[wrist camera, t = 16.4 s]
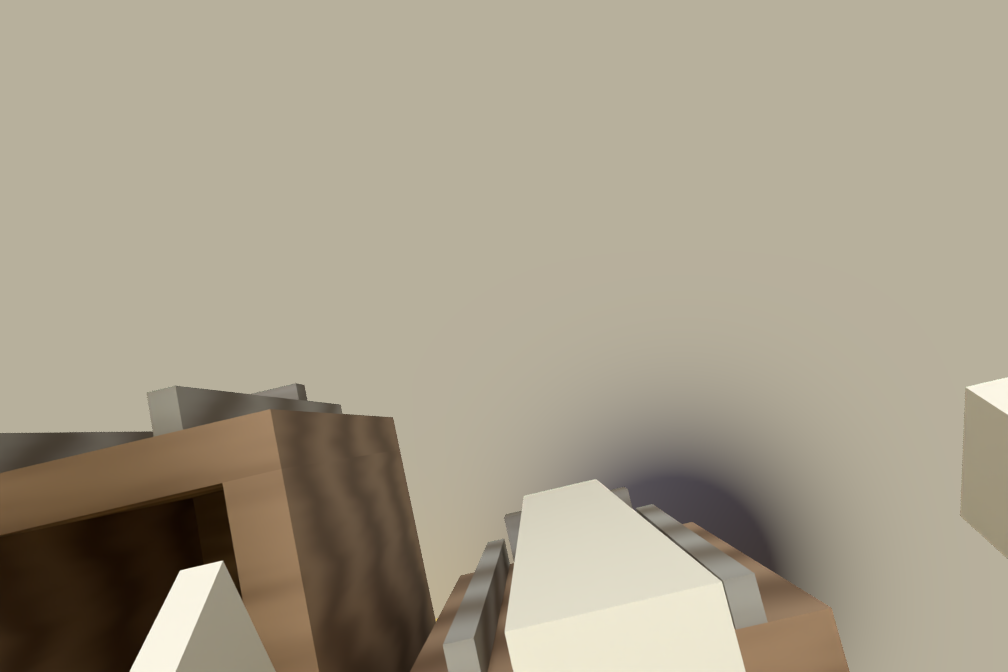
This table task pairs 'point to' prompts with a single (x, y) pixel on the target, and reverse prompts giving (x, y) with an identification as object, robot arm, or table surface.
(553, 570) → the white long bar
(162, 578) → the lane rack
